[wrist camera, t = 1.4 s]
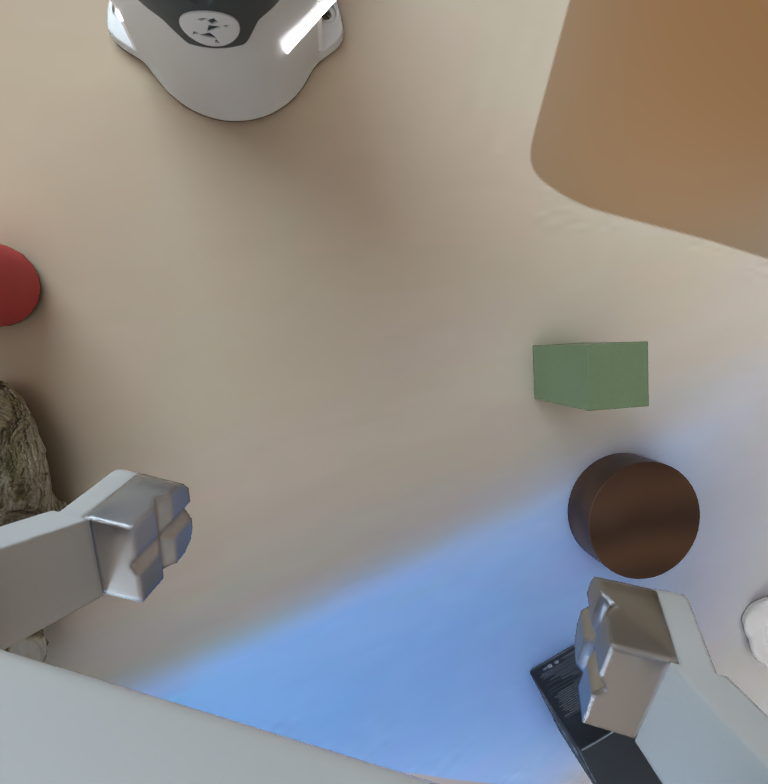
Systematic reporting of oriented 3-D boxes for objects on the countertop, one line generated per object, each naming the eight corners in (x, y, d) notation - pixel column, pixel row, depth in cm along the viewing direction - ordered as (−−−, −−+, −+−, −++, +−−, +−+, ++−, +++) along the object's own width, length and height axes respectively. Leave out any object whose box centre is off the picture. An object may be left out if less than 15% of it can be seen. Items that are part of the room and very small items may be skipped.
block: (532, 345, 50) (586, 345, 40) (582, 342, 50) (648, 341, 41) (534, 398, 50) (588, 410, 40) (584, 394, 51) (649, 406, 41)
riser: (566, 457, 51) (587, 467, 47) (670, 448, 53) (699, 456, 49) (569, 567, 52) (589, 585, 48) (671, 555, 54) (700, 572, 50)
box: (527, 670, 52) (580, 750, 42) (576, 642, 53) (640, 714, 42) (559, 733, 54) (619, 827, 43) (607, 705, 54) (677, 791, 44)
